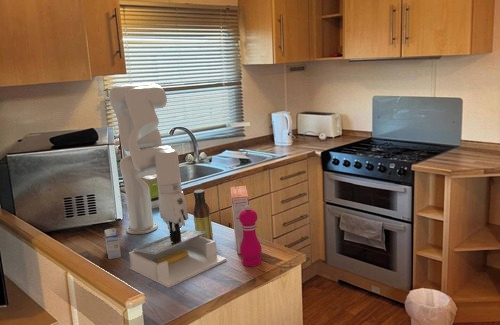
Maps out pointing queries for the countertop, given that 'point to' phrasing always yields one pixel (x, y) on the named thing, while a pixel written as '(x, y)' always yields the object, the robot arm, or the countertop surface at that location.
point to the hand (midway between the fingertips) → (176, 240)
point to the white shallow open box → (177, 262)
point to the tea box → (152, 189)
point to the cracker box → (238, 211)
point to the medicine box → (112, 243)
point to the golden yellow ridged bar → (174, 257)
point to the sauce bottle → (202, 214)
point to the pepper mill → (249, 238)
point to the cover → (169, 242)
